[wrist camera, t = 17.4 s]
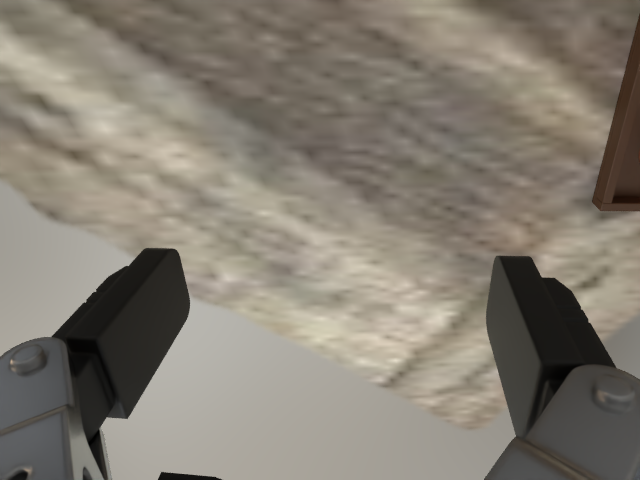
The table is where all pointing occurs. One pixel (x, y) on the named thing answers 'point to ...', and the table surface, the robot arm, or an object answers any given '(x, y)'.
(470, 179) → the table surface
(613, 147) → the tray
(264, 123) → the table surface
